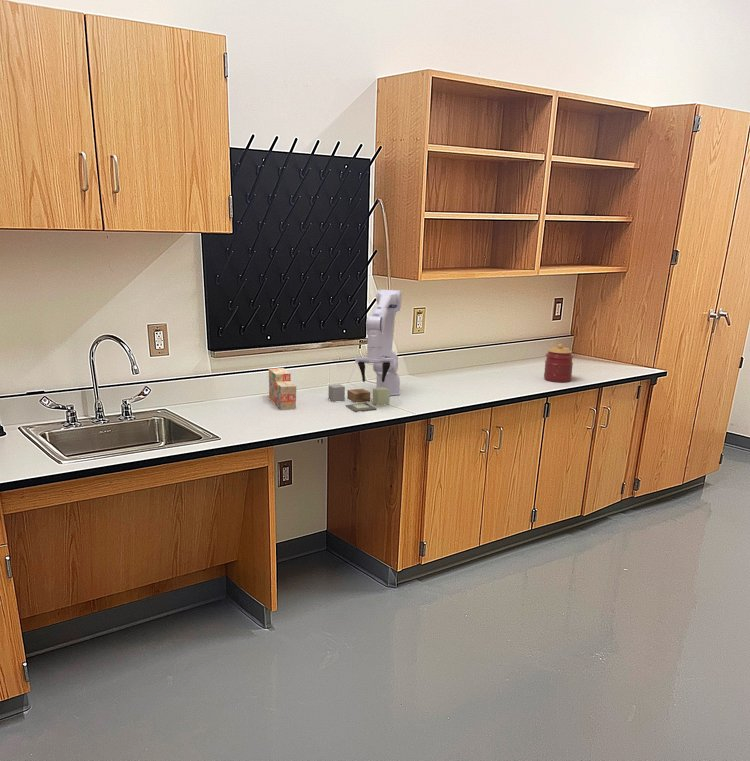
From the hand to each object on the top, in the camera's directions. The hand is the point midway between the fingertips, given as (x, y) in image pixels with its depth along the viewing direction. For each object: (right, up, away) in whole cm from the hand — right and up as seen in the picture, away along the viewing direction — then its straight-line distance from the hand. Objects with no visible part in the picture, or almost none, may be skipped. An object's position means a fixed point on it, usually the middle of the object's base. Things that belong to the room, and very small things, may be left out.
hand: (373, 381), depth 265 cm
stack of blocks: (-36, -9, +5) cm, 38 cm away
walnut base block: (-6, -8, +12) cm, 16 cm away
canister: (+88, +1, +59) cm, 106 cm away
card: (-5, -10, 0) cm, 12 cm away
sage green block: (+3, -9, +8) cm, 12 cm away
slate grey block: (-15, -8, +11) cm, 20 cm away
